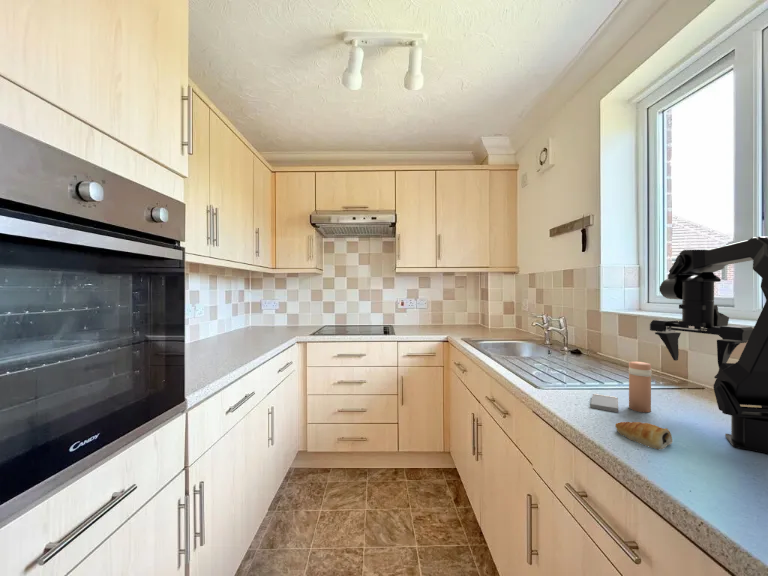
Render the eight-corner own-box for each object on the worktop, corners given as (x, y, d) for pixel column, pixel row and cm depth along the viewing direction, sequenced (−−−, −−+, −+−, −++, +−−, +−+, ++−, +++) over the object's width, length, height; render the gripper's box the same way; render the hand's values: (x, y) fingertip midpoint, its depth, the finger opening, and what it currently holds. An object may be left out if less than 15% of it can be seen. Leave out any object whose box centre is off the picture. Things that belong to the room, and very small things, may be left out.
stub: (652, 413, 85) (652, 366, 85) (629, 410, 88) (629, 364, 88) (650, 408, 89) (650, 362, 89) (628, 404, 92) (628, 360, 92)
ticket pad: (618, 412, 86) (618, 407, 86) (590, 407, 90) (590, 403, 90) (617, 401, 95) (617, 397, 95) (592, 397, 98) (592, 393, 98)
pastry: (609, 434, 74) (609, 417, 74) (624, 428, 78) (624, 411, 78) (660, 452, 66) (660, 433, 66) (675, 445, 69) (676, 426, 69)
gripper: (769, 301, 77) (769, 370, 77) (675, 298, 95) (674, 354, 95) (741, 302, 73) (740, 374, 73) (648, 299, 91) (648, 357, 91)
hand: (697, 364), depth 83 cm, fingers open, 9 cm apart
